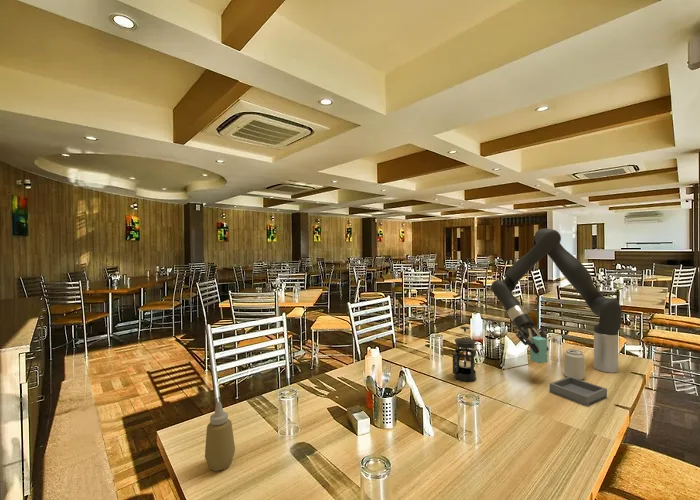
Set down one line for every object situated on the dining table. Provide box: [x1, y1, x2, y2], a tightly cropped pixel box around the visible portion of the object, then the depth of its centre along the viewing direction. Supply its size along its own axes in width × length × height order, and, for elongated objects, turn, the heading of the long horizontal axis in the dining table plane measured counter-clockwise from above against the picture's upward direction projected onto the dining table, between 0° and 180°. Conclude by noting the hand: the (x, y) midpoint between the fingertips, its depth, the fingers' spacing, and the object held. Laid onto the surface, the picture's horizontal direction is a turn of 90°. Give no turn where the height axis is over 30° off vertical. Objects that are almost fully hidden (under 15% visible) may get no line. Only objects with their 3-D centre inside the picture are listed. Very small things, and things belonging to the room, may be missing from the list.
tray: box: [549, 376, 608, 407], centre depth 137 cm, size 14×14×4 cm
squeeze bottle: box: [204, 401, 236, 472], centre depth 97 cm, size 8×8×18 cm
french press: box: [452, 325, 477, 383], centre depth 154 cm, size 12×9×23 cm
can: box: [563, 348, 586, 381], centre depth 153 cm, size 8×8×12 cm
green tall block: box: [529, 336, 548, 365], centre depth 149 cm, size 4×4×10 cm
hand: (542, 351), depth 147 cm, fingers closed on green tall block, 4 cm apart
